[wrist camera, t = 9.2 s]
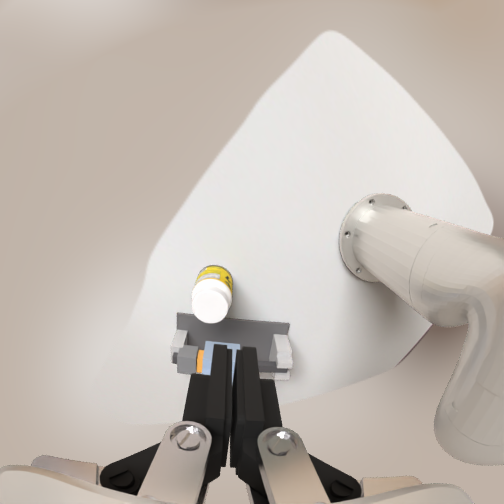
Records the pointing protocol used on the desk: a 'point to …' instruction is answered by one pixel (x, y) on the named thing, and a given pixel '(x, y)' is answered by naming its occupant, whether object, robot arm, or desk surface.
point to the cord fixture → (232, 331)
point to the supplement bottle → (212, 294)
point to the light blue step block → (209, 352)
